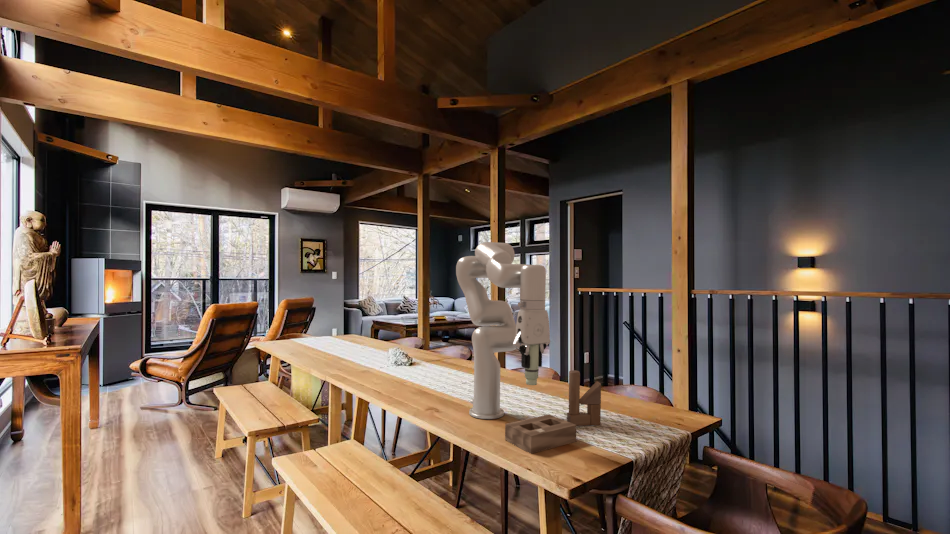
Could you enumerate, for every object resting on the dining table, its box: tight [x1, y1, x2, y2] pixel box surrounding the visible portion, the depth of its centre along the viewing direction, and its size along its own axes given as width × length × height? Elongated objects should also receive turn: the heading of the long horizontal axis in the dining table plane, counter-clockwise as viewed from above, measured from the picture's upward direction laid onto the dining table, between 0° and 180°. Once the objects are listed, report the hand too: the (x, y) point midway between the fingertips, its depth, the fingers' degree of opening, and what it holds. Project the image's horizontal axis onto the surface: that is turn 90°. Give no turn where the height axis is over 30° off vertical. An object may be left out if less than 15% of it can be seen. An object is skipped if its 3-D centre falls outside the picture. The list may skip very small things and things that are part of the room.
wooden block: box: [566, 369, 602, 427], centre depth 153 cm, size 4×11×18 cm, turn 98°
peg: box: [524, 344, 539, 386], centre depth 135 cm, size 4×4×14 cm
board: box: [504, 414, 577, 455], centre depth 136 cm, size 12×18×5 cm, turn 124°
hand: (531, 366), depth 135 cm, fingers closed on peg, 4 cm apart
